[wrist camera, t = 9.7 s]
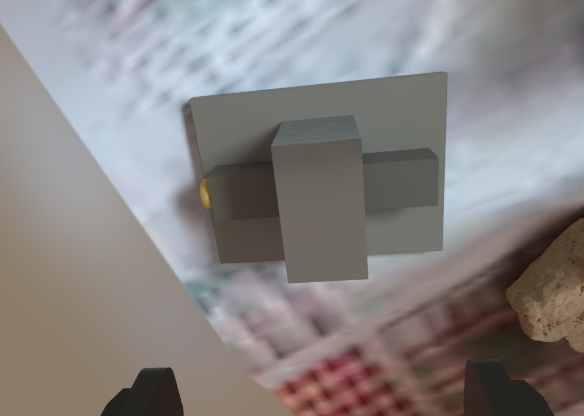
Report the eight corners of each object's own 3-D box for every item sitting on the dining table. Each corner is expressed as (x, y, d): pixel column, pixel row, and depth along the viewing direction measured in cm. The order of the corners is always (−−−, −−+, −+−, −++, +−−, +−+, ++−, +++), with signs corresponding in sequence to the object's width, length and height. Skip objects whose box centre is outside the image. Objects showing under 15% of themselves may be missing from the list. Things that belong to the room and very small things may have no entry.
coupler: (193, 97, 28) (176, 105, 25) (443, 71, 26) (459, 76, 23) (223, 256, 32) (212, 281, 29) (438, 244, 31) (452, 268, 28)
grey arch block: (282, 121, 27) (270, 146, 21) (353, 114, 27) (361, 138, 21) (295, 233, 30) (288, 283, 24) (359, 229, 30) (368, 279, 24)
